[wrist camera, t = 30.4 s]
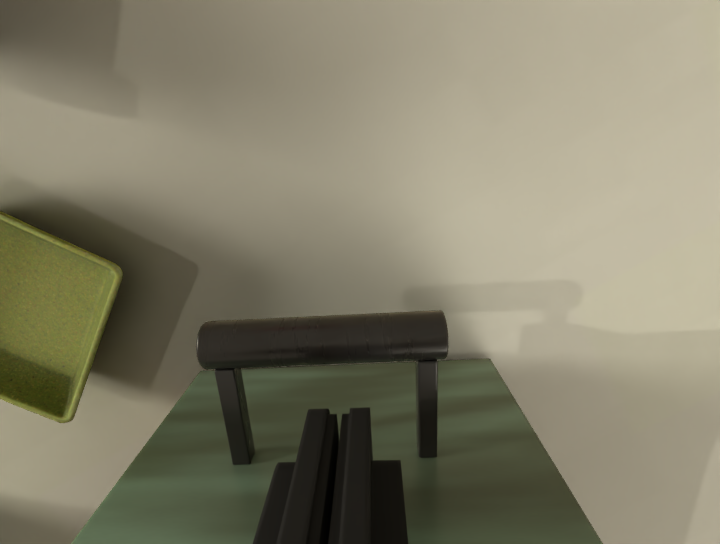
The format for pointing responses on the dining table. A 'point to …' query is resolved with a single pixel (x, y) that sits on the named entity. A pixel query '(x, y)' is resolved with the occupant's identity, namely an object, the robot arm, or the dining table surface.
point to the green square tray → (50, 317)
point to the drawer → (339, 393)
